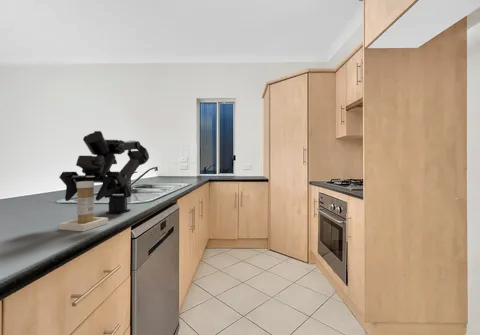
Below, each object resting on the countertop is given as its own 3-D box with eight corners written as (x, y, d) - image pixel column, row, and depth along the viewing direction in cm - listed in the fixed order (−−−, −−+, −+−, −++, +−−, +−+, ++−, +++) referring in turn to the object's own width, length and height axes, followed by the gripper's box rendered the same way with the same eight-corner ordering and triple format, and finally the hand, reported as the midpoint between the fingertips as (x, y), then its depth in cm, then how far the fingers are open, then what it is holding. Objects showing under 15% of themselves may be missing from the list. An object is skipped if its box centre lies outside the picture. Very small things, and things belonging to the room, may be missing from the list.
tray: (85, 221, 75) (85, 216, 75) (108, 223, 73) (108, 217, 73) (59, 229, 66) (59, 223, 66) (83, 231, 64) (83, 225, 64)
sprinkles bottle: (89, 221, 73) (88, 180, 73) (97, 222, 71) (97, 181, 71) (74, 224, 69) (73, 181, 69) (82, 226, 67) (81, 182, 67)
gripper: (63, 147, 73) (33, 183, 62) (120, 147, 73) (101, 183, 63) (79, 170, 81) (56, 206, 70) (131, 170, 81) (115, 205, 71)
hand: (81, 200), depth 68 cm, fingers open, 9 cm apart
